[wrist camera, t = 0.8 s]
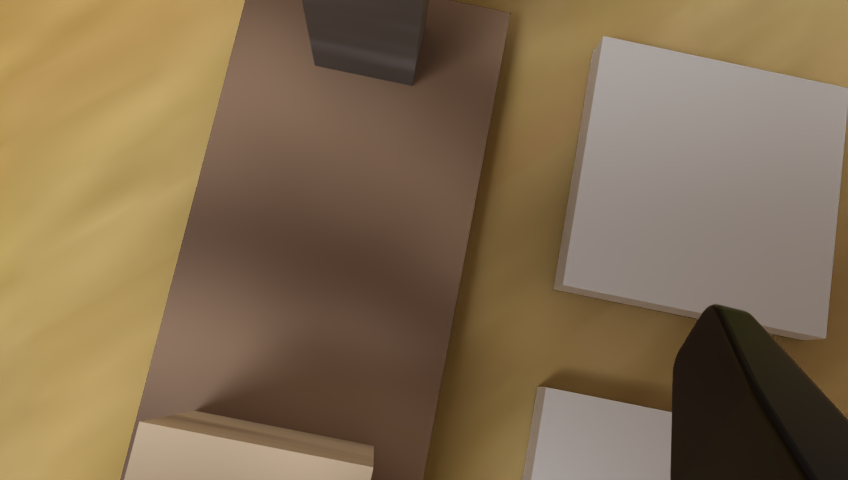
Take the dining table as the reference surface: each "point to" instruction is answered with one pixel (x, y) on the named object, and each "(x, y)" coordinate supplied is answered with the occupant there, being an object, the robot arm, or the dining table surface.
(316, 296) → the grey post stand
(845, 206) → the dining table surface
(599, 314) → the dining table surface
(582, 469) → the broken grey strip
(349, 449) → the birch cube
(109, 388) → the dining table surface
